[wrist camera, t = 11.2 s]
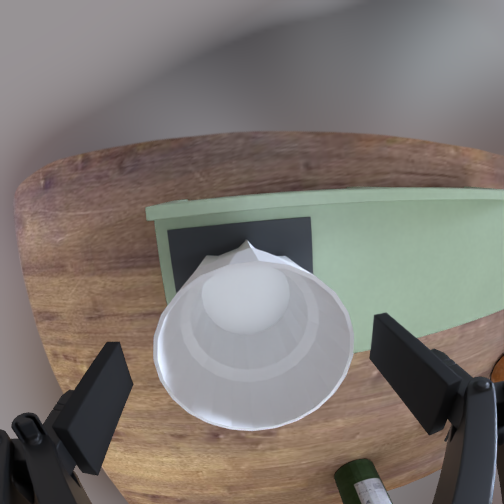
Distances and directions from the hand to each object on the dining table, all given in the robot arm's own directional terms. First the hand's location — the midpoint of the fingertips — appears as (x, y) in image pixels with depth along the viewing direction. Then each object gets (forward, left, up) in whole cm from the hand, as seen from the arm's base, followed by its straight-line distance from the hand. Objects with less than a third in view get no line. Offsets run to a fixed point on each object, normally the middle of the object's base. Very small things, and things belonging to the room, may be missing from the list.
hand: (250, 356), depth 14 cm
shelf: (+10, +9, -19) cm, 23 cm away
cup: (0, 0, -10) cm, 10 cm away
